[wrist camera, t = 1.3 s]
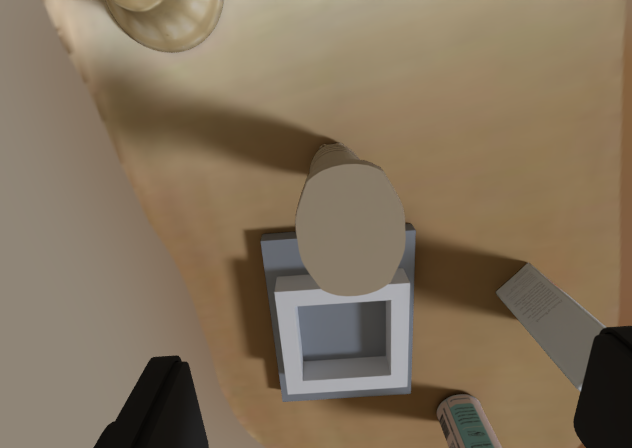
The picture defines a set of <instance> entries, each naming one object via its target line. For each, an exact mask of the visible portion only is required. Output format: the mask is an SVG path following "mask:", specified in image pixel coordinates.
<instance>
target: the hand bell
mask: <svg viewBox="0 0 632 448" xmlns="http://www.w3.org/2000/svg"><path fill="white" fill-rule="evenodd" d="M106 2H107V5H108V7H109V9H110V11H111V13H112V15H113V16H114V18H115V20H116V21H117V23H118V24H119V25H120V26H121V27H122V29H123V30H124V31H125V32H126V33H127V34H128V35H130V36H131V37H132V38H133V39H134V40H136V41H137V42H139V43H140V44H142V45H144V46H146V47H148V48H151V49H153V50H157V51H161V52H171V53H172V52H182V51H185V50H189V49H191V48H193V47H195V46H197V45H199V44H200V43H202V42H203V41H204V40H205V39H206V38H207V37H208V36H209V35H210V33H211V32H212V31H213V29H214V28H215V26H216V25H217V22H218V20H219V18H220V15H221V11H222V7H223V0H106Z"/></svg>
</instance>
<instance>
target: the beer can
mask: <svg viewBox="0 0 632 448" xmlns="http://www.w3.org/2000/svg"><path fill="white" fill-rule="evenodd" d="M437 418H438V420H439V422H440V424H441V427H442V430H443V432H444V435H445V438H446V441H447V443H448V446H449V448H502V446H501V444H500V443H499V441H498V439H497V437H496V435H495V433H494V431H493V429H492V427H491V425H490V423H489V421H488V419H487V417H486V415H485V413H484V411H483V409H482V407H481V404H480V402H479V401H478V400H477V399H476V398H475V397H473V396H470V395H467V394H459V395H453V396H450V397H448V398H446V399H445V400H444V401H442V402H441V404H440V405H439V407H438V409H437Z"/></svg>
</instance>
